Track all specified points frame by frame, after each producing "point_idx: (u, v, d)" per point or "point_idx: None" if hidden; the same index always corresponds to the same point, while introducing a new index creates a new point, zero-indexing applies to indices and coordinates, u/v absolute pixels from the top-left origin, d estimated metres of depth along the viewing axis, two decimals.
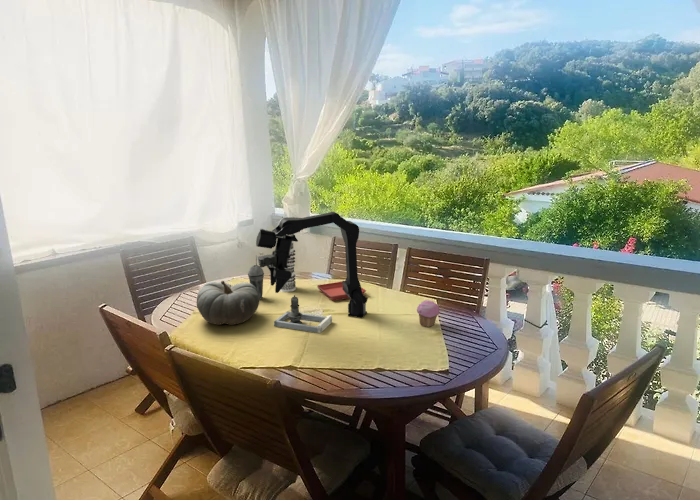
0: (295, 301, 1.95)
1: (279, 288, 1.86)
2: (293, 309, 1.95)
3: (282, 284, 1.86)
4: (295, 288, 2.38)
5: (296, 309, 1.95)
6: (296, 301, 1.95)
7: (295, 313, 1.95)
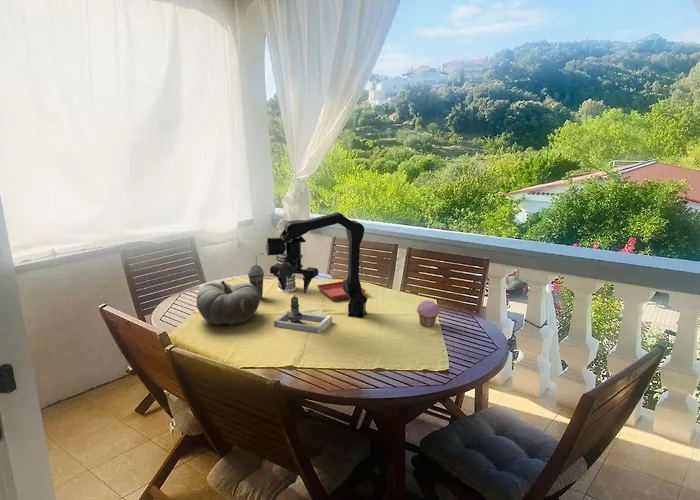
0: (295, 301, 1.95)
1: (307, 287, 1.93)
2: (293, 309, 1.95)
3: (309, 283, 1.93)
4: (295, 288, 2.38)
5: (296, 309, 1.95)
6: (296, 301, 1.95)
7: (295, 313, 1.95)
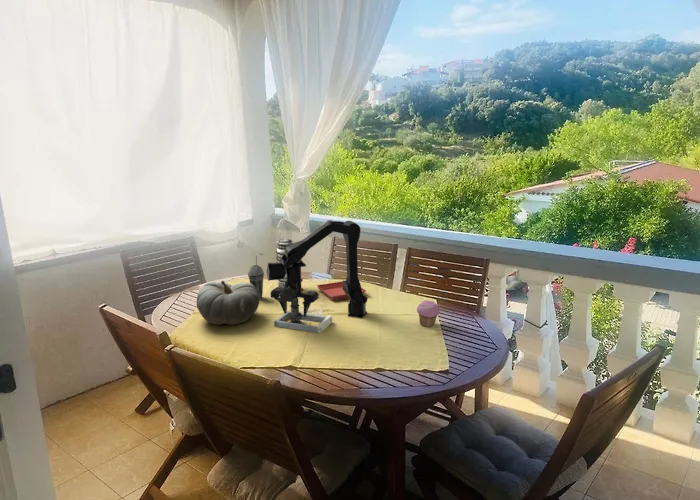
0: (295, 301, 1.95)
1: (307, 311, 1.95)
2: (293, 309, 1.95)
3: (308, 306, 1.95)
4: None
5: (296, 309, 1.95)
6: (296, 301, 1.95)
7: (295, 313, 1.95)
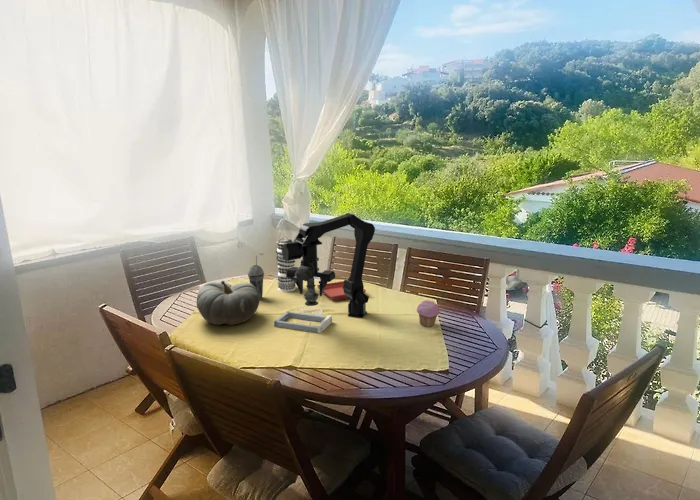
0: (313, 281, 1.90)
1: (323, 291, 1.91)
2: (310, 289, 1.91)
3: (325, 286, 1.91)
4: (295, 288, 2.38)
5: (313, 289, 1.91)
6: (313, 280, 1.90)
7: (313, 293, 1.91)
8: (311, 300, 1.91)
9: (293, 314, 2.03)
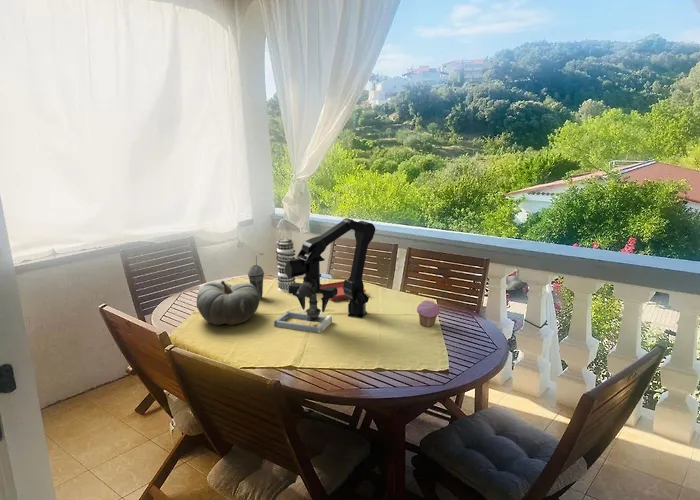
0: (315, 297, 1.91)
1: (325, 307, 1.92)
2: (313, 305, 1.92)
3: (327, 302, 1.92)
4: None
5: (316, 305, 1.92)
6: (315, 296, 1.92)
7: (315, 309, 1.92)
8: (313, 316, 1.92)
9: (293, 314, 2.03)
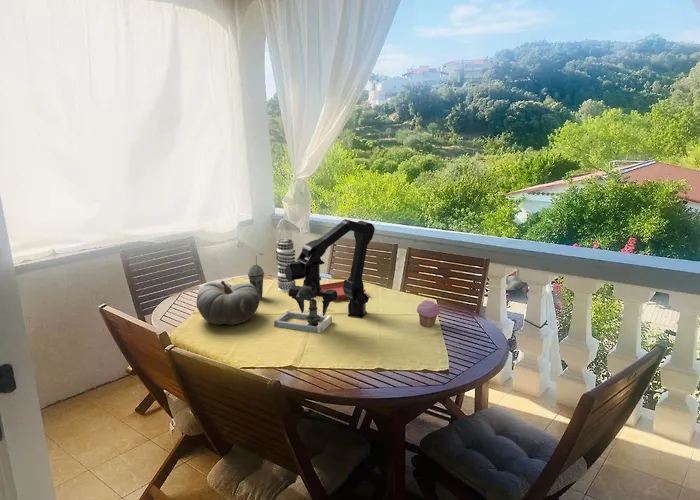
0: (310, 303, 1.92)
1: (326, 310, 1.92)
2: None
3: (328, 305, 1.92)
4: None
5: (310, 311, 1.93)
6: (310, 303, 1.92)
7: (309, 315, 1.94)
8: None
9: (293, 314, 2.03)
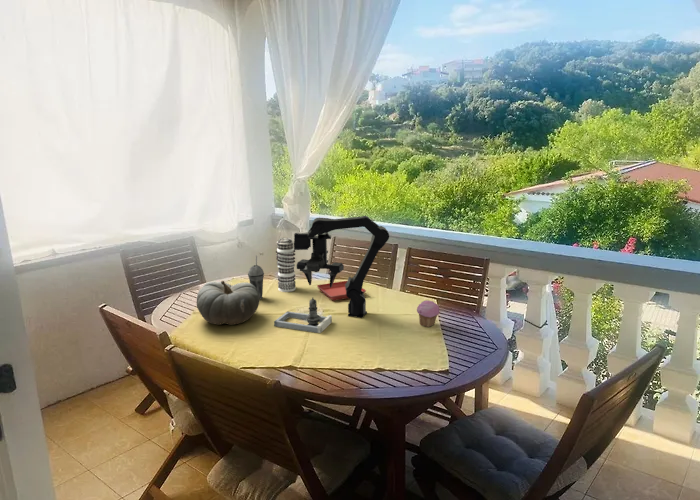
0: (310, 303, 1.92)
1: None
2: None
3: (334, 277, 2.01)
4: (295, 288, 2.38)
5: (310, 311, 1.93)
6: (310, 304, 1.92)
7: (309, 315, 1.94)
8: None
9: (293, 314, 2.03)
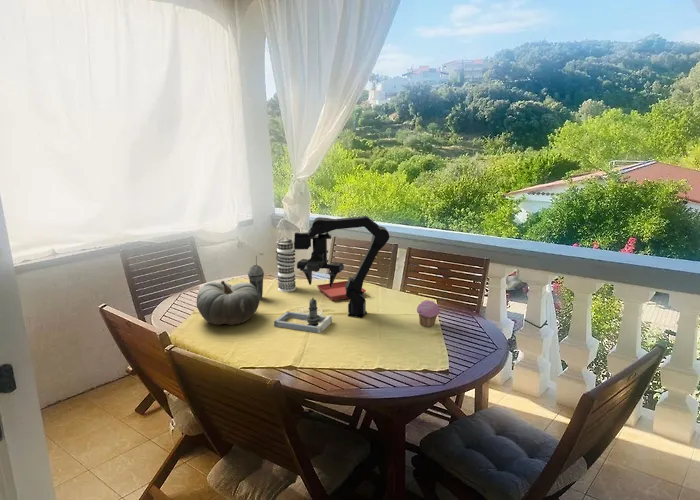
0: (310, 303, 1.92)
1: None
2: None
3: (334, 277, 2.01)
4: (295, 288, 2.38)
5: (310, 311, 1.93)
6: (310, 303, 1.92)
7: (309, 315, 1.94)
8: None
9: (293, 314, 2.03)
